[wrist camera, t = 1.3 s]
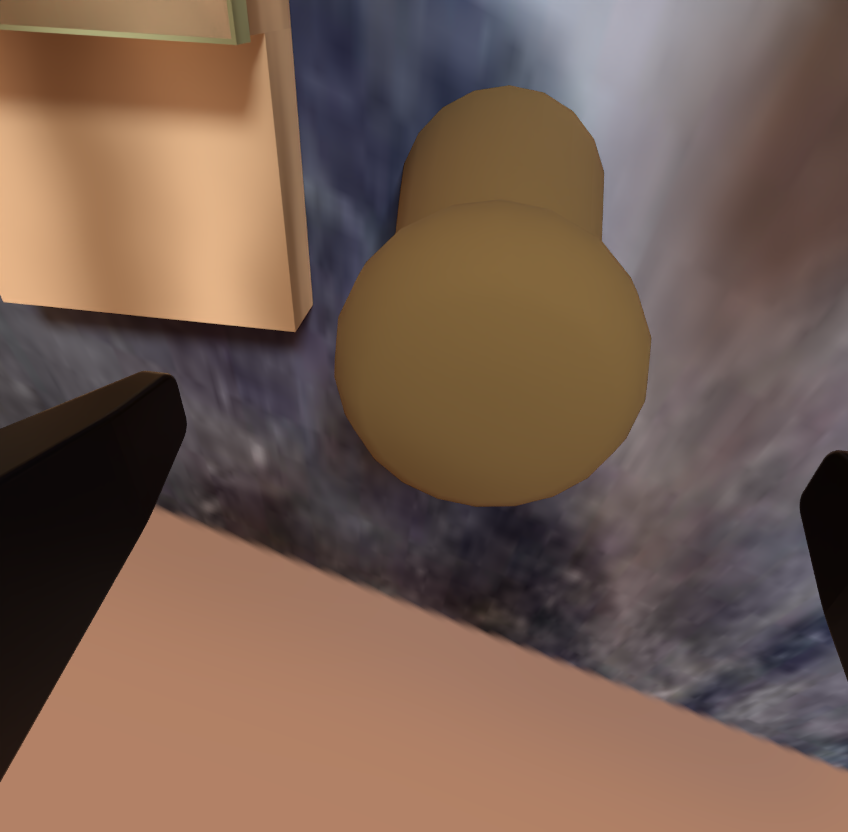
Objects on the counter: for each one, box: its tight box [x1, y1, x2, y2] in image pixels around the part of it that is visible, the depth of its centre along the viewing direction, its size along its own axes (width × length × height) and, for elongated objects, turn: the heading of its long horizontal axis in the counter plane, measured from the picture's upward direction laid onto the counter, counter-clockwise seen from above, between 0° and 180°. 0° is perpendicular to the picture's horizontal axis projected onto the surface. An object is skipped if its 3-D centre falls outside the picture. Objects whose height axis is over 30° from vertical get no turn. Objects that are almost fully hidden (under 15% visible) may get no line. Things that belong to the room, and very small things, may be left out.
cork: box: [335, 85, 651, 507], centre depth 13 cm, size 6×6×11 cm
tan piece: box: [0, 0, 313, 332], centre depth 14 cm, size 16×16×4 cm
